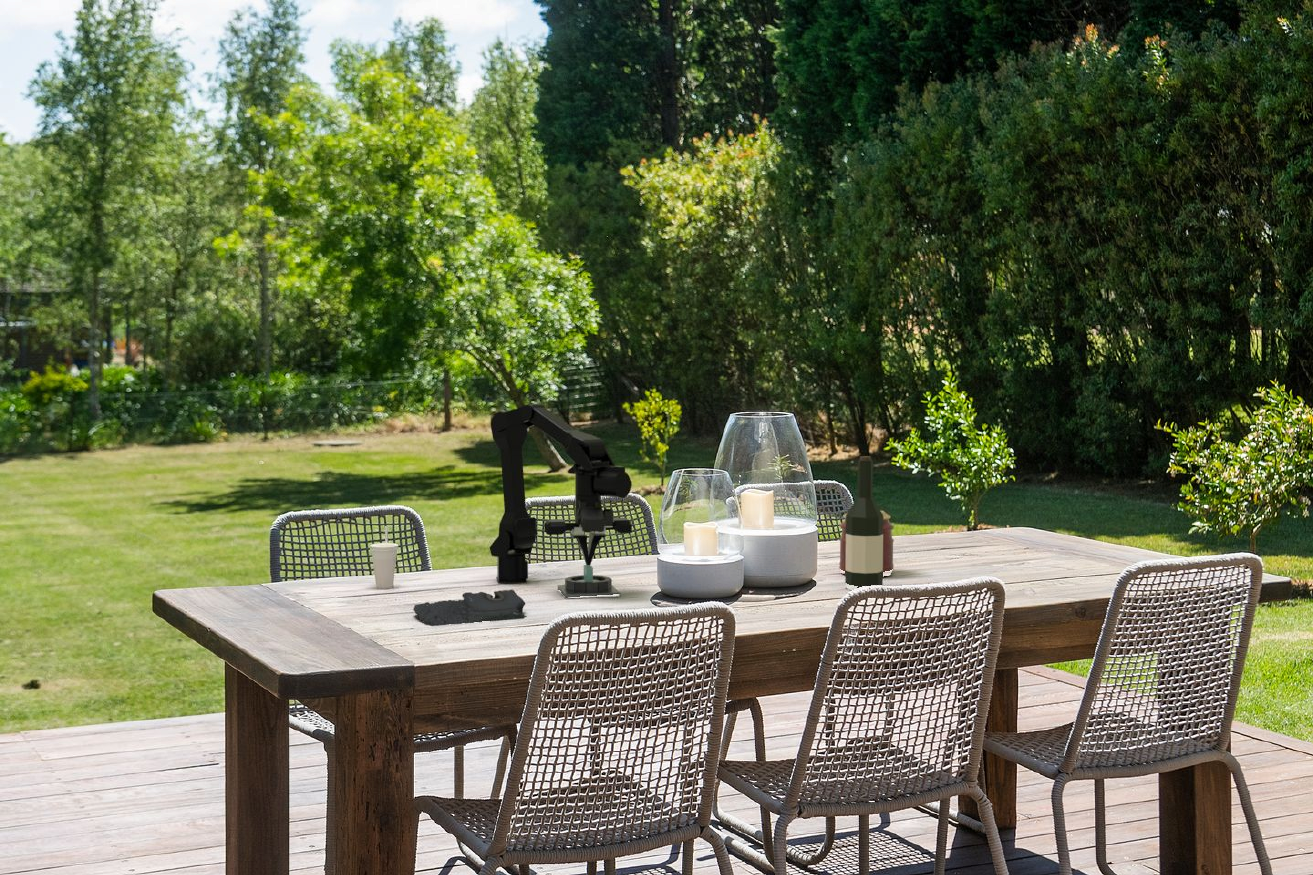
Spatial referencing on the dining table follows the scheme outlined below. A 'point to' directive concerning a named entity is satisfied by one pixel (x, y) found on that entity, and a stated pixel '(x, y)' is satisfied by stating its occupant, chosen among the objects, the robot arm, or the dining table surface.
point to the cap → (588, 574)
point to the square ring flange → (587, 586)
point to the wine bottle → (864, 532)
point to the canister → (886, 544)
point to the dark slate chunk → (472, 609)
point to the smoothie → (384, 562)
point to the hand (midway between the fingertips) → (588, 565)
